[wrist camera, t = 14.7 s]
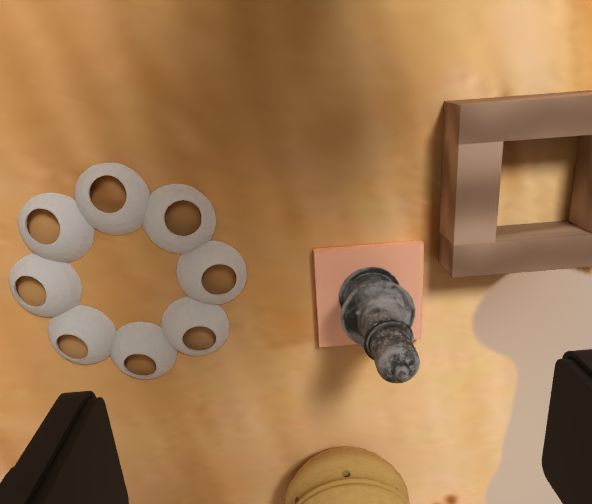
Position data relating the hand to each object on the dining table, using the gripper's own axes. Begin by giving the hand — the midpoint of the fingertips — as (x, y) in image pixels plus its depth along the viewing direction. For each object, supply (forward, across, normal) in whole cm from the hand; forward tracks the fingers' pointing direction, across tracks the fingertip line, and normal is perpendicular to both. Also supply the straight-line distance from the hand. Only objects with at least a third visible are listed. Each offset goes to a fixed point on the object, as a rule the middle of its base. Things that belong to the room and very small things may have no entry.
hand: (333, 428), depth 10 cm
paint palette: (+31, +14, +9) cm, 35 cm away
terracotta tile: (+30, -6, +12) cm, 33 cm away
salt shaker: (+30, -6, +12) cm, 33 cm away
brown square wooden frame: (+30, -19, +3) cm, 36 cm away
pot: (+31, -3, +32) cm, 44 cm away
